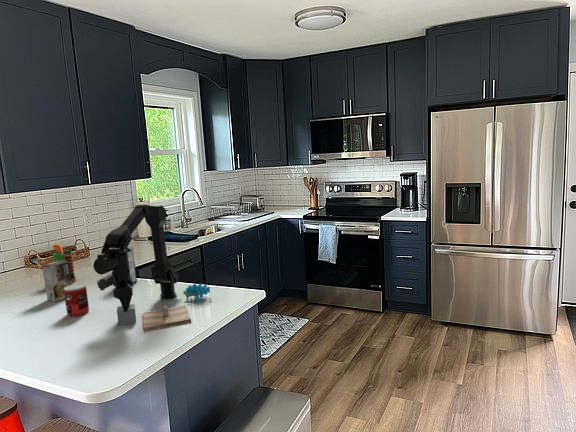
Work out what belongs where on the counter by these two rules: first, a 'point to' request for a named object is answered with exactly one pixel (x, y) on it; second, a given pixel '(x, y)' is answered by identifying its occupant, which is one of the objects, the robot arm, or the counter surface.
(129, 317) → the grey box with handle
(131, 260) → the milk carton
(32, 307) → the counter surface
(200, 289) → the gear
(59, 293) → the coffee box
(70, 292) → the canned food
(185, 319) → the plate
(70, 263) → the multicoloured piece
